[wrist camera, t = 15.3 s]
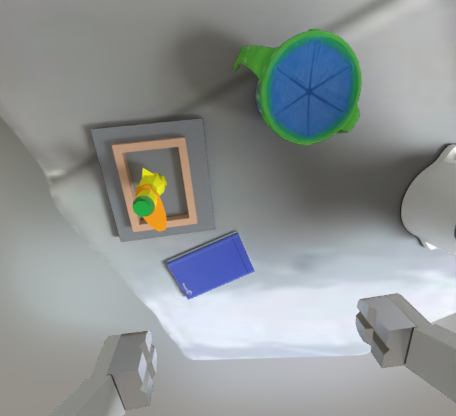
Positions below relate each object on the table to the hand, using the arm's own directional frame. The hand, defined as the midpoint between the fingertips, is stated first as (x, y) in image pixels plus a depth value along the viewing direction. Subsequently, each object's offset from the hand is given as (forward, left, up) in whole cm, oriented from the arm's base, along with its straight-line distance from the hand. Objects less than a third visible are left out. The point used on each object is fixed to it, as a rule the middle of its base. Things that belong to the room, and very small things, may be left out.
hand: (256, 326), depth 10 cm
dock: (+7, +2, -30) cm, 31 cm away
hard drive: (+1, +17, -31) cm, 35 cm away
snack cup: (-11, -8, -30) cm, 33 cm away
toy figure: (+7, +1, -29) cm, 29 cm away
